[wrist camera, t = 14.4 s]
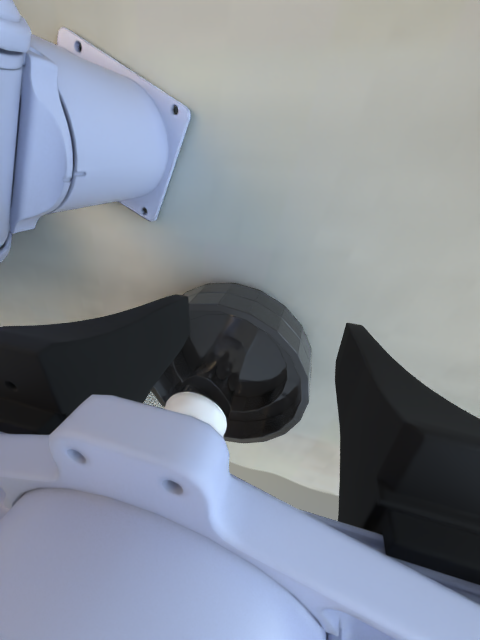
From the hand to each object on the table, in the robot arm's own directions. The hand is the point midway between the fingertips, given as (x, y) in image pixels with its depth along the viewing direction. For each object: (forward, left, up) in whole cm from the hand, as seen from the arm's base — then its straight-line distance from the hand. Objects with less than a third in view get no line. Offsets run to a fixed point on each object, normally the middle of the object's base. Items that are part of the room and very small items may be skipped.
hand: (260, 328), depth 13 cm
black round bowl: (+1, -10, -10) cm, 14 cm away
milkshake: (+1, -10, -10) cm, 14 cm away
